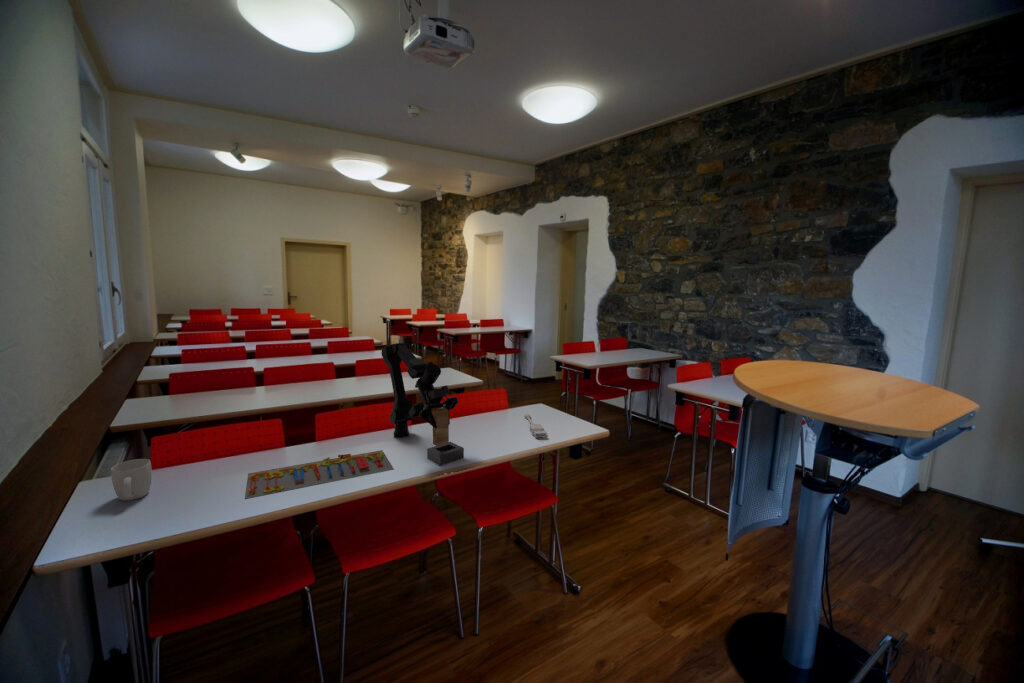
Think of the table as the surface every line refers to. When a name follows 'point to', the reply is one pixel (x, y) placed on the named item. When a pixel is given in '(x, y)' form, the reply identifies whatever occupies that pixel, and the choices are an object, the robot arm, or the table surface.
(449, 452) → the grey block holder
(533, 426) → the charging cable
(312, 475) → the gear board
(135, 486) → the mug
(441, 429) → the brown wooden block
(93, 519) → the table surface
